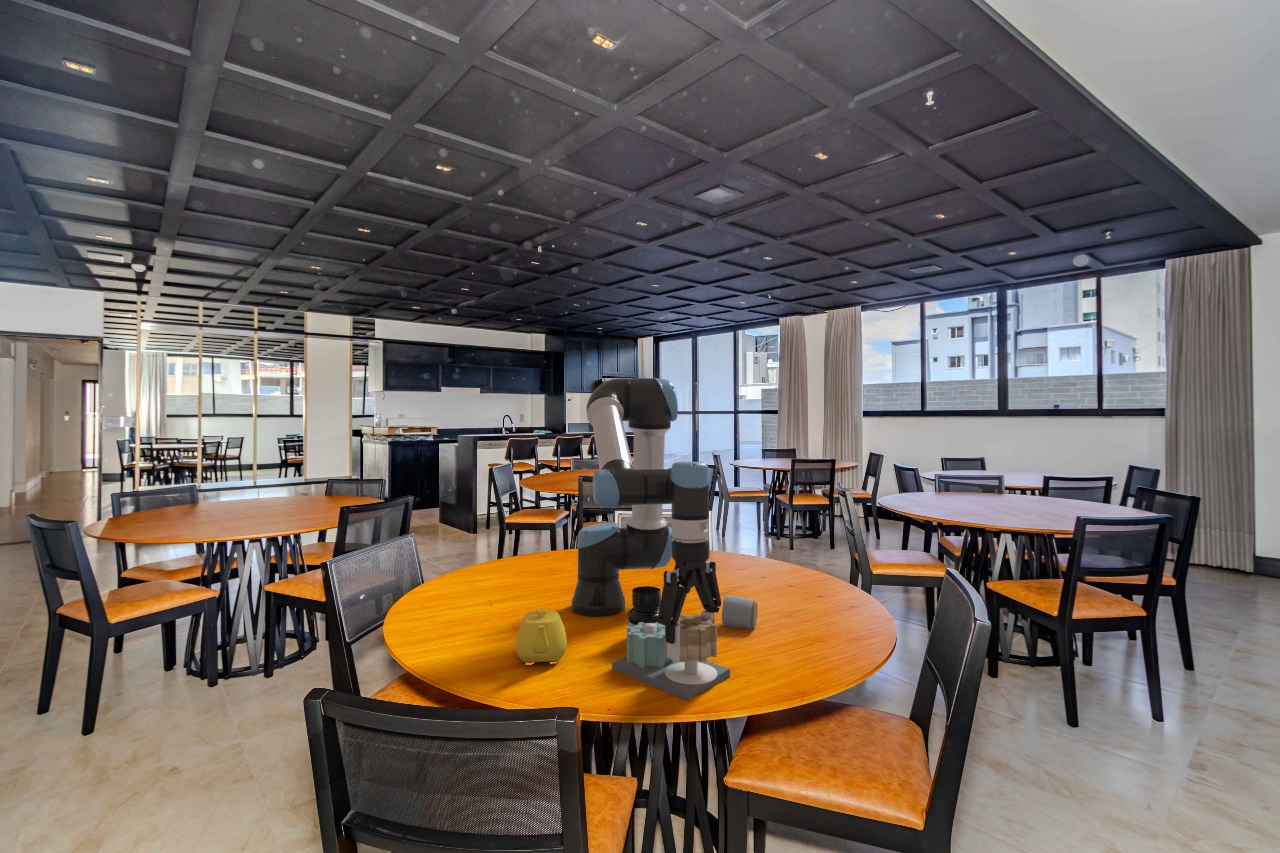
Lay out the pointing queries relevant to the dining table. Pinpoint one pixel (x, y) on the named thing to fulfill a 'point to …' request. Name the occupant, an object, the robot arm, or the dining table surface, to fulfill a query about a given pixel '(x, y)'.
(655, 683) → the gear board
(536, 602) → the dining table surface
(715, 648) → the birch gear
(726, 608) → the ceramic mug
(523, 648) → the teapot
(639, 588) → the ink bottle
